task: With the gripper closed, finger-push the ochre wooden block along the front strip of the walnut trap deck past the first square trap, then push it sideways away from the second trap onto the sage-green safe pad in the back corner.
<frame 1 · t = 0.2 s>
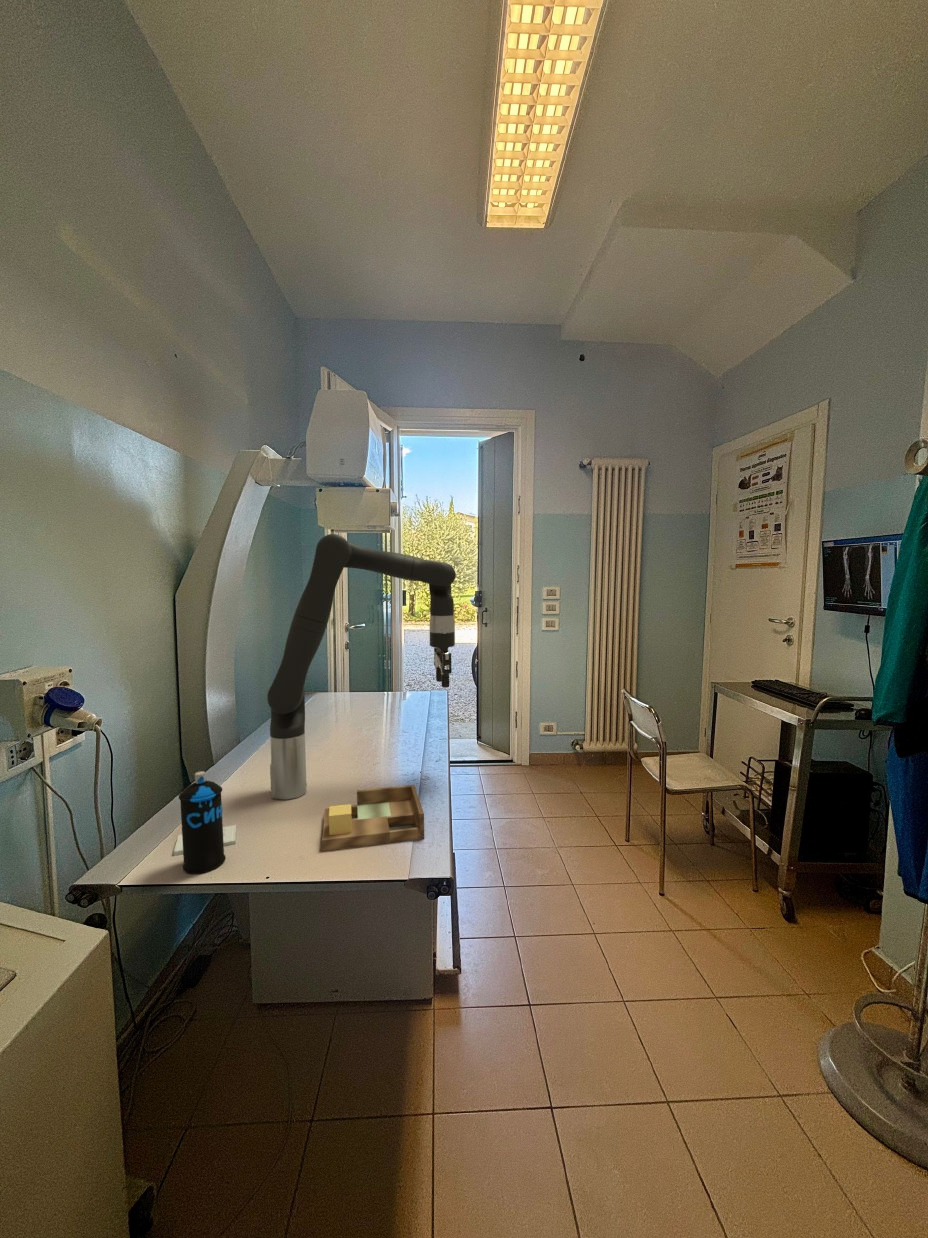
hand: (442, 684, 151), 29 cm above the table, fingers open, 8 cm apart
block: (340, 828, 118), point 2 cm above the table, touching trap deck
aerosol can: (204, 864, 108), on the table
trap deck: (370, 828, 123), on the table
external hard drive: (207, 844, 117), on the table
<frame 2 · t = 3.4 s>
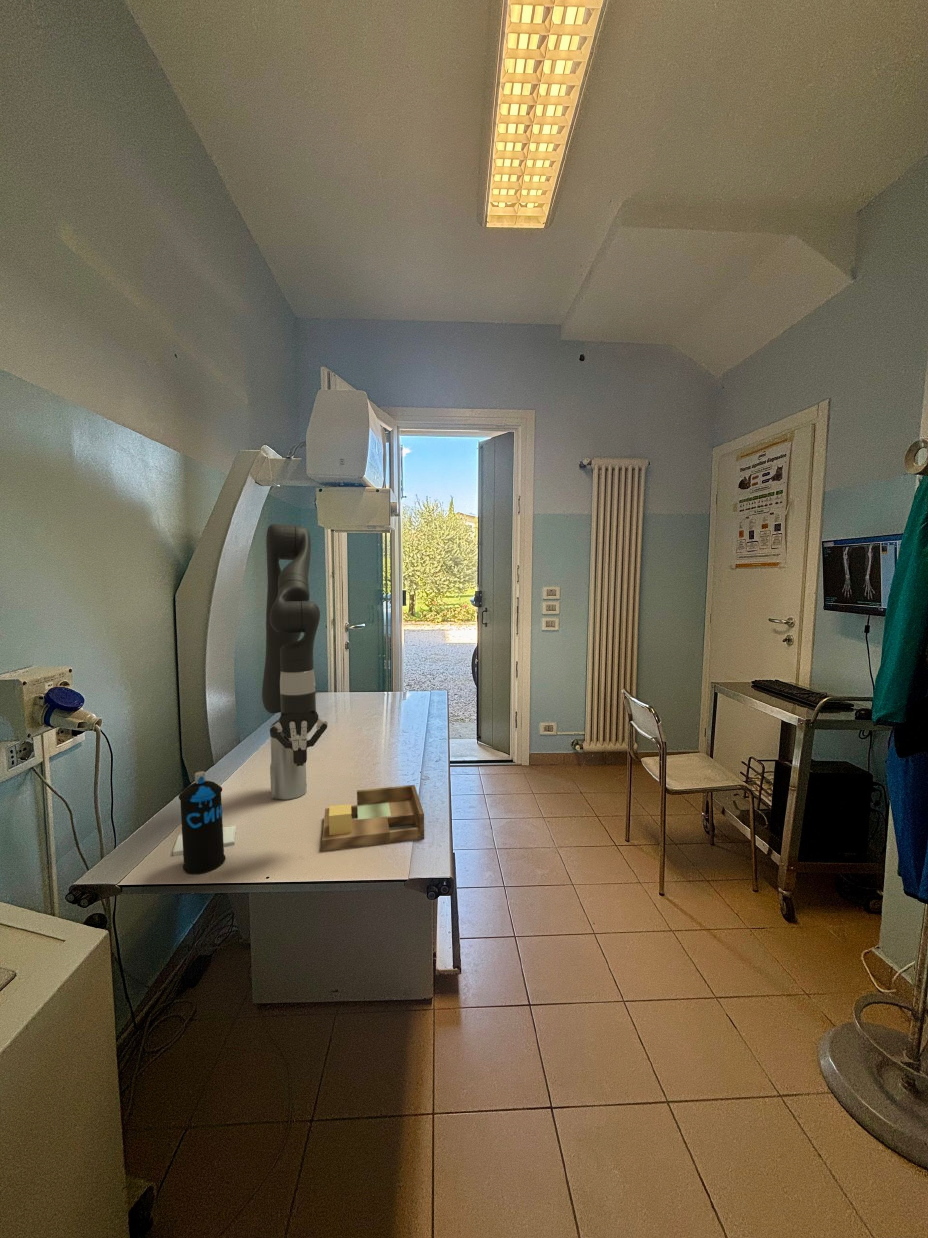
hand: (300, 764, 114), 19 cm above the table, fingers closed
nothing on the table moved.
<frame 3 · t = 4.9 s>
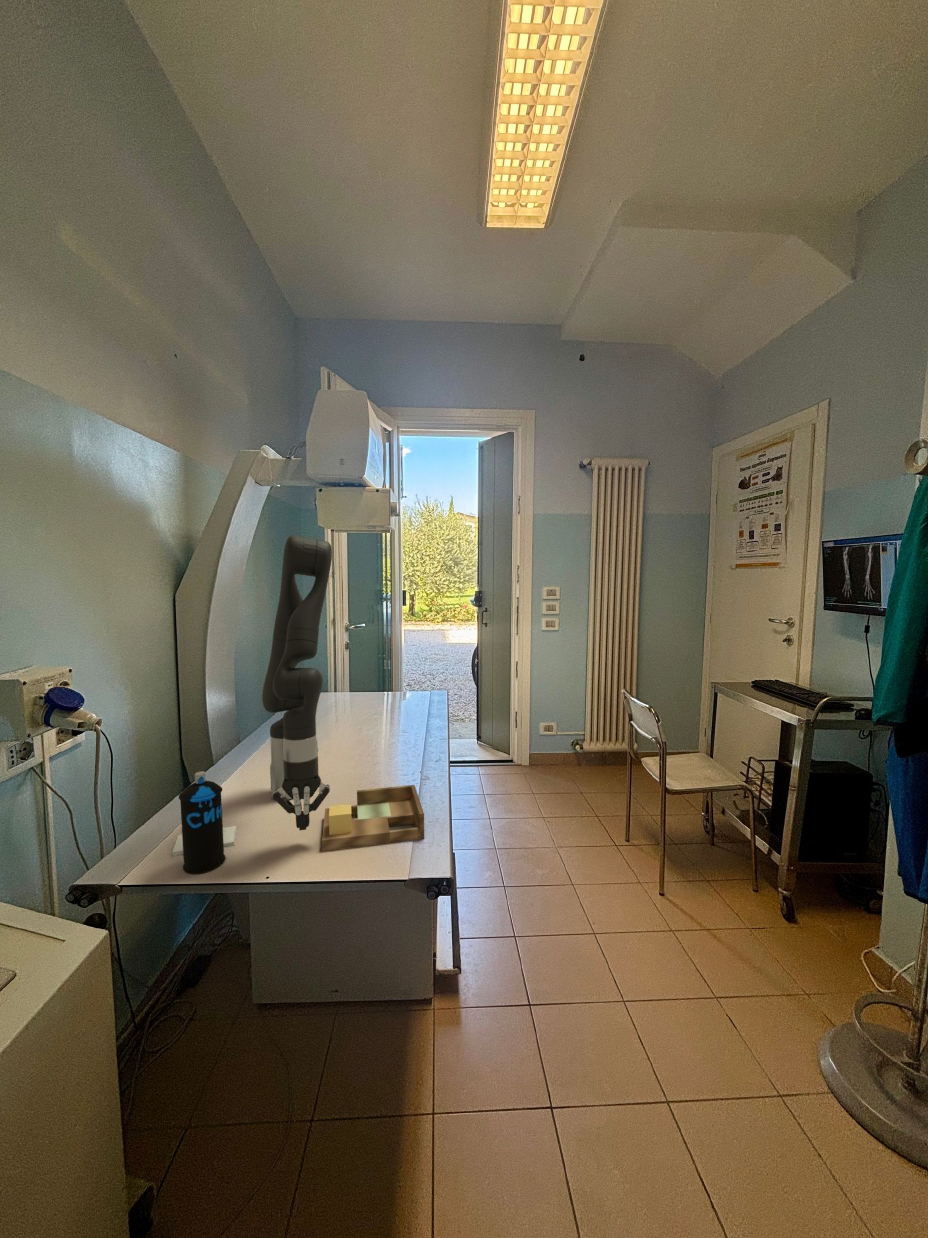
hand: (303, 828, 116), 4 cm above the table, fingers closed
nothing on the table moved.
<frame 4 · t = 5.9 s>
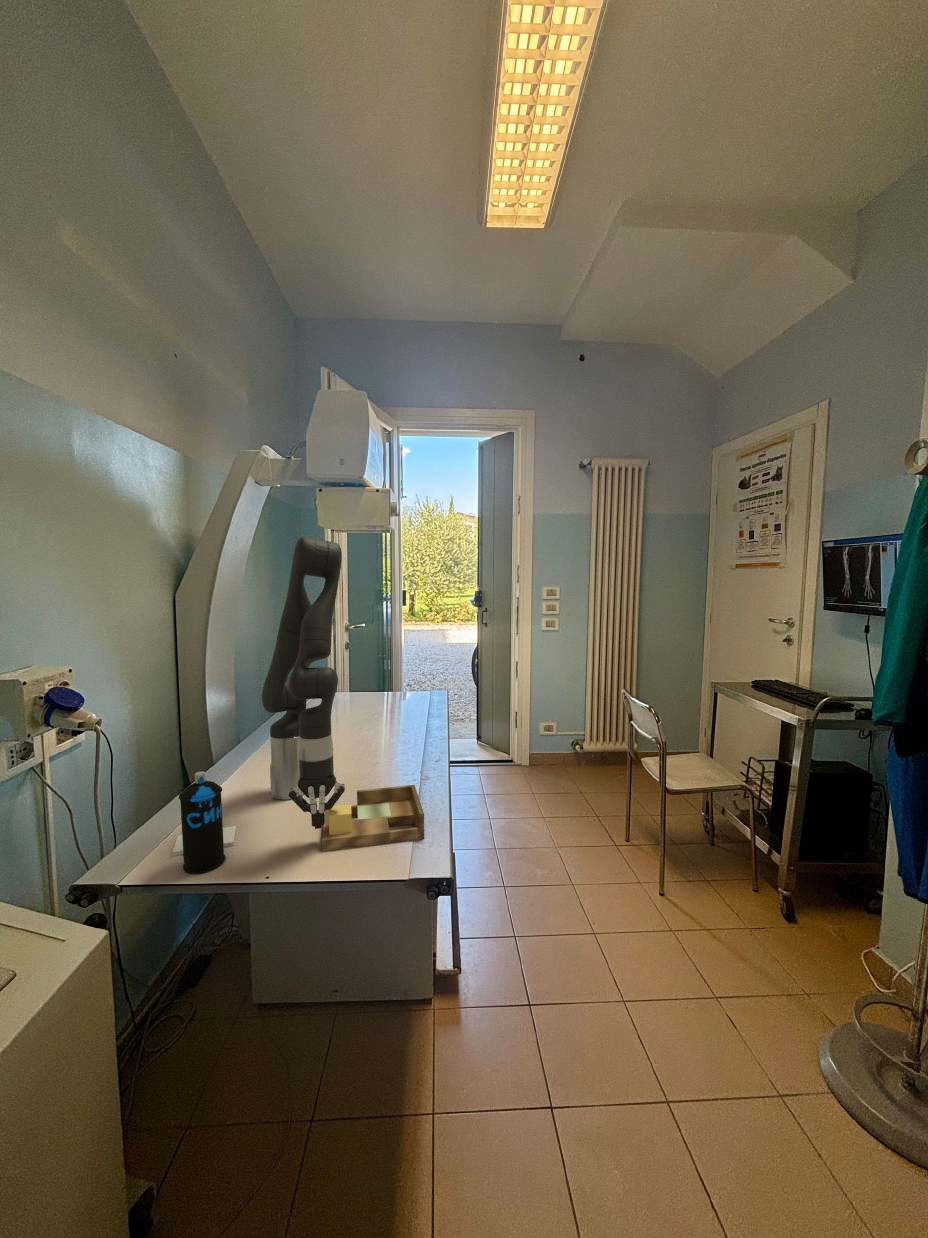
hand: (318, 827, 116), 4 cm above the table, fingers closed
block: (340, 828, 118), point 3 cm above the table, touching gripper
everything else where it was.
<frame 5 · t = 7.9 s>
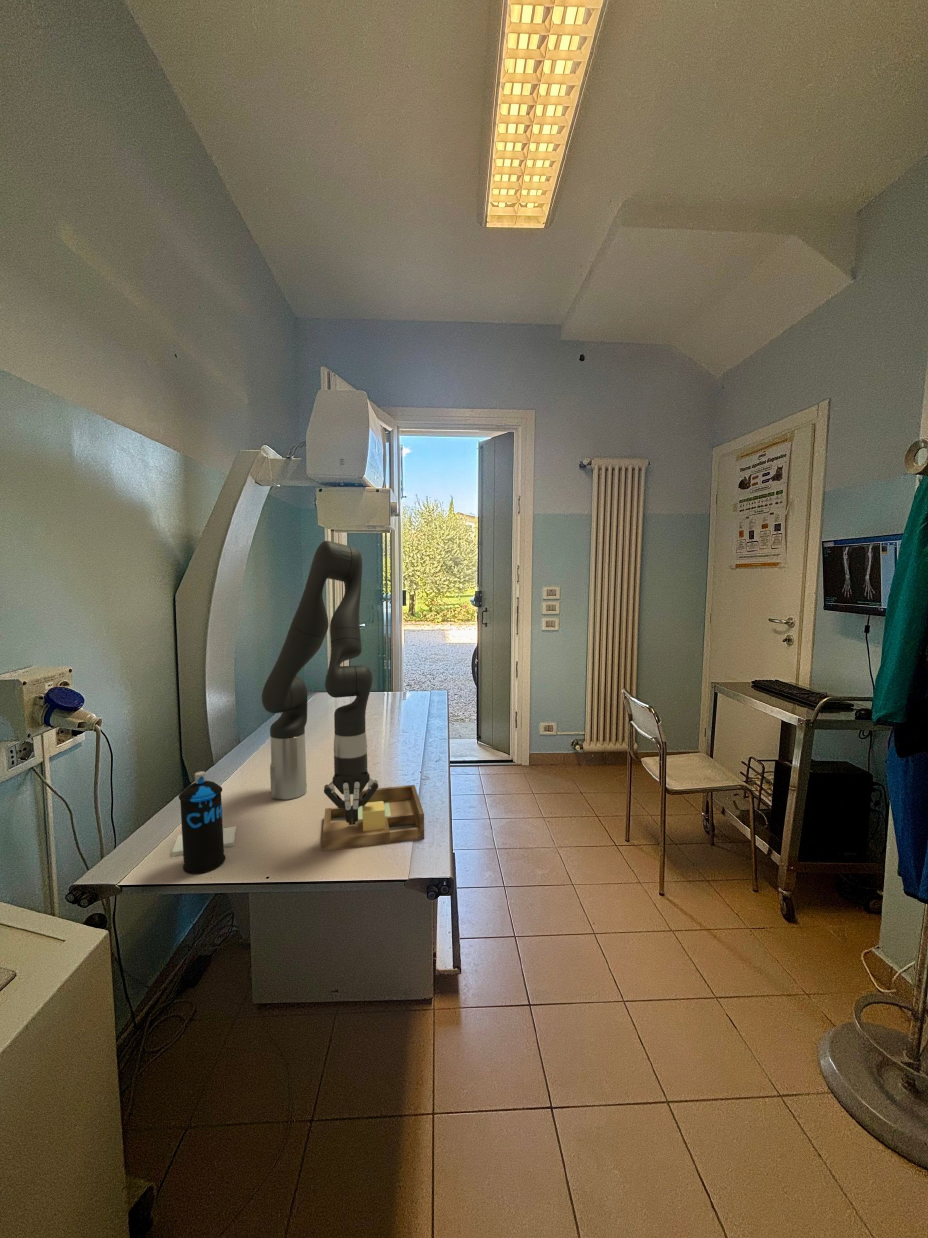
hand: (352, 823, 118), 4 cm above the table, fingers closed
block: (373, 825, 119), point 2 cm above the table, touching gripper, trap deck
everything else where it was.
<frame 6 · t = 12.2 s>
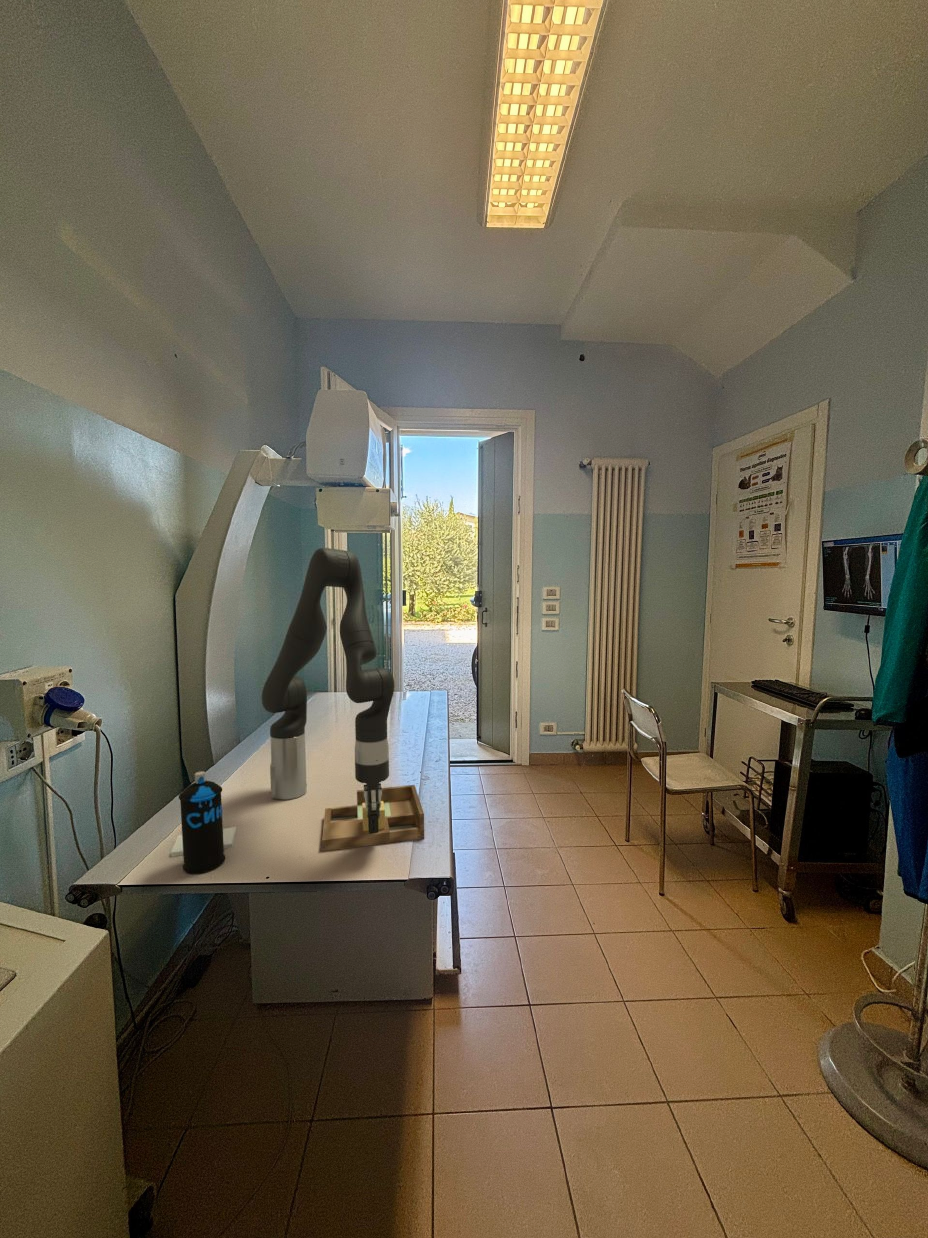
hand: (373, 831, 114), 3 cm above the table, fingers closed
nothing on the table moved.
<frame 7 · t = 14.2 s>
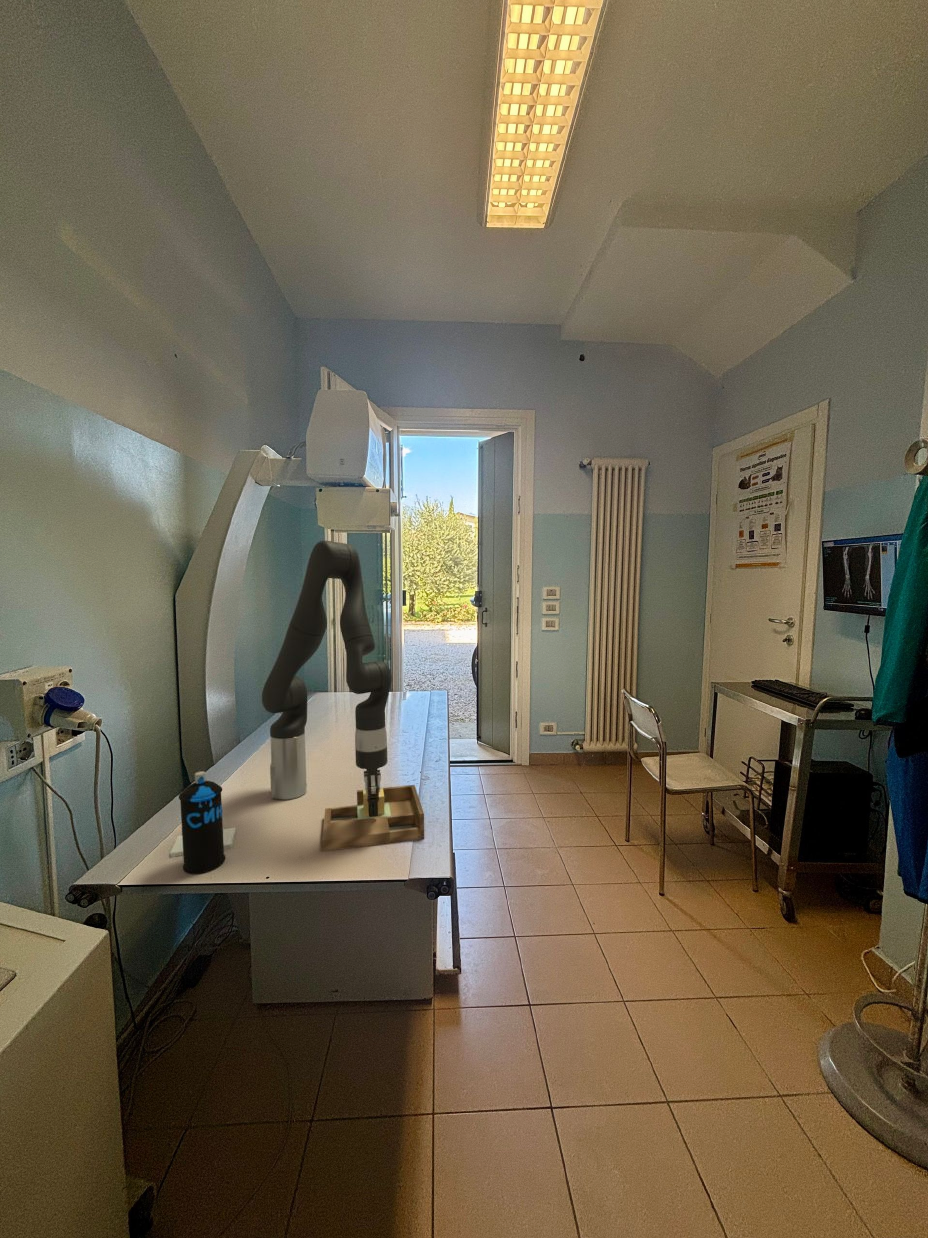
hand: (373, 815, 122), 4 cm above the table, fingers closed
block: (373, 810, 127), point 2 cm above the table, touching gripper, trap deck
everything else where it was.
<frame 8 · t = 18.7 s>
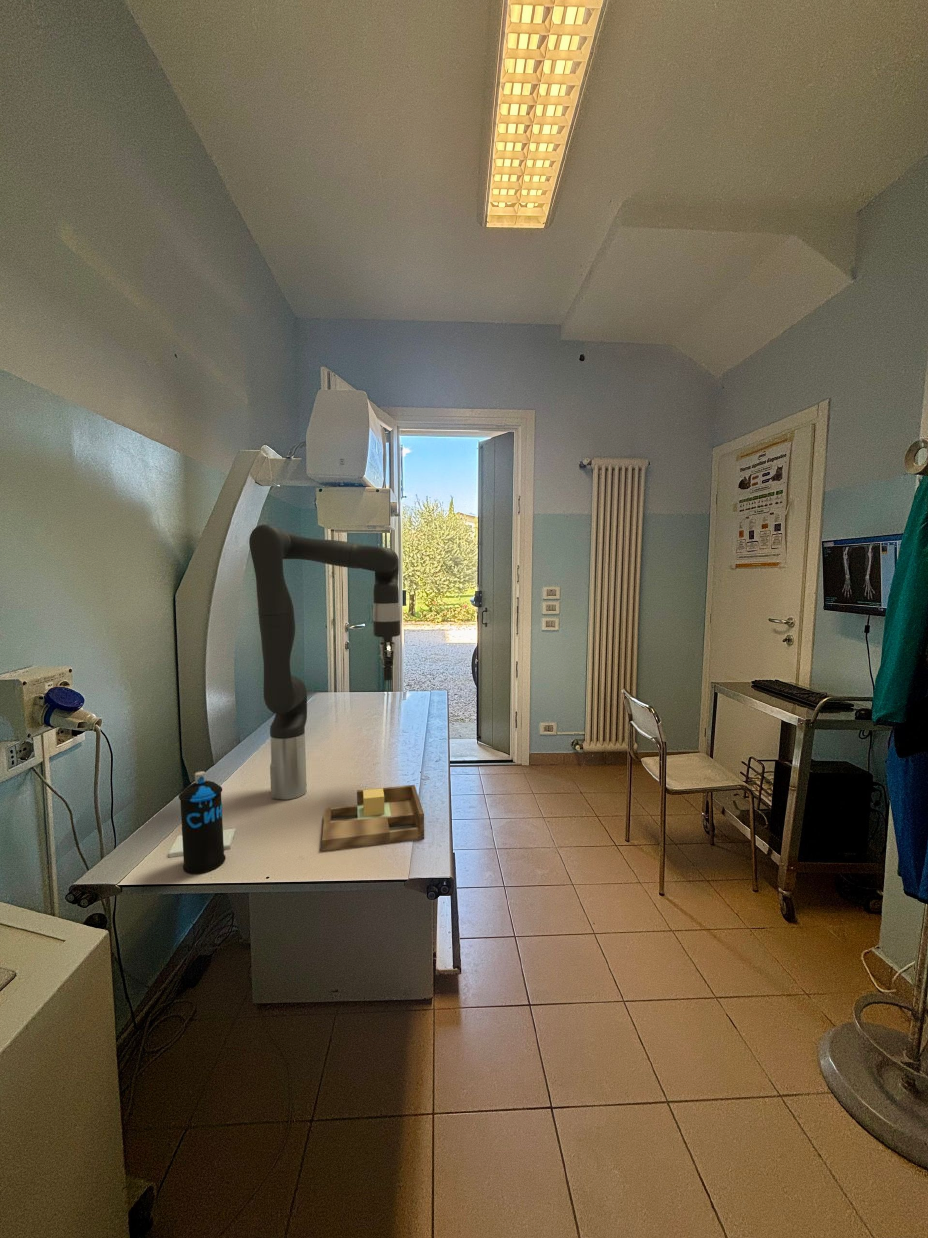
hand: (387, 679, 143), 32 cm above the table, fingers closed
block: (373, 810, 127), point 2 cm above the table, touching trap deck
at the end: block inside the target area on the trap deck (0.4 cm from its centre), point 2.5 cm above the trap deck's base; block tilted 0° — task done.
